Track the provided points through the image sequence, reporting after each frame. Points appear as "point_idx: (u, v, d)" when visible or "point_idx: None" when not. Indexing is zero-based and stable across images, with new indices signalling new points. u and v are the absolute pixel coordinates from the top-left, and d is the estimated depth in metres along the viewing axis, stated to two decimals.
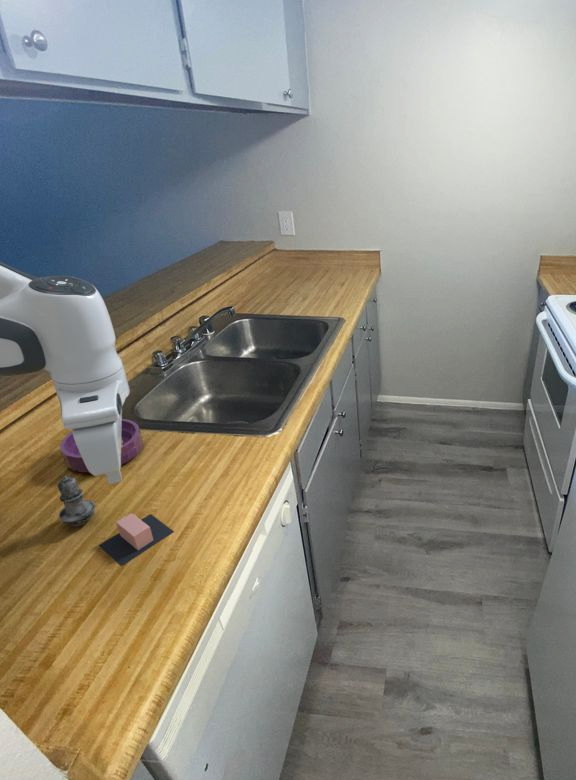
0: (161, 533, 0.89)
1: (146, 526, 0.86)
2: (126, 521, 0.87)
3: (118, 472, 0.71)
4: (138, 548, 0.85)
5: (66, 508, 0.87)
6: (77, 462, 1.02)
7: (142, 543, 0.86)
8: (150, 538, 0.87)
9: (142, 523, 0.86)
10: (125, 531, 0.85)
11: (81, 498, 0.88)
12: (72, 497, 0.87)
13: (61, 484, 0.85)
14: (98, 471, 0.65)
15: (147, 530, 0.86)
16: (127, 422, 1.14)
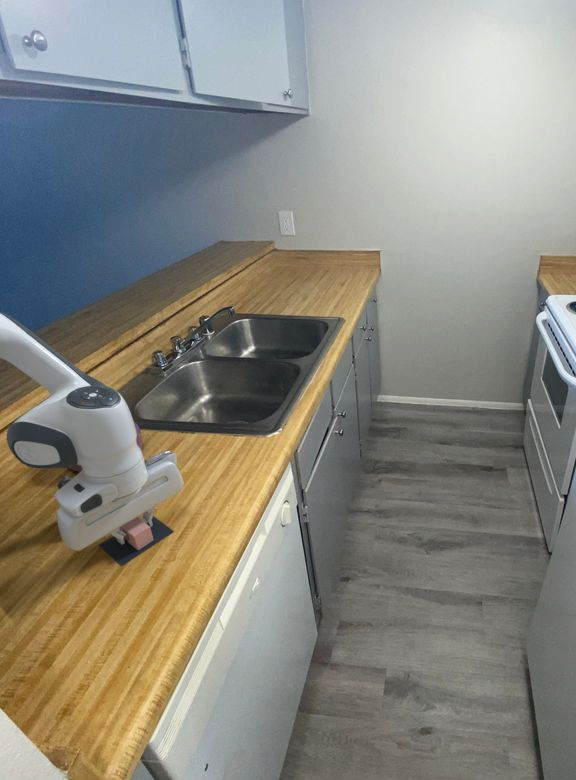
0: (161, 533, 0.89)
1: (146, 526, 0.86)
2: None
3: (118, 538, 0.84)
4: (138, 548, 0.85)
5: None
6: None
7: (142, 543, 0.86)
8: (150, 538, 0.87)
9: (142, 523, 0.86)
10: (125, 531, 0.85)
11: None
12: None
13: (61, 484, 0.85)
14: (64, 542, 0.77)
15: (147, 530, 0.86)
16: None
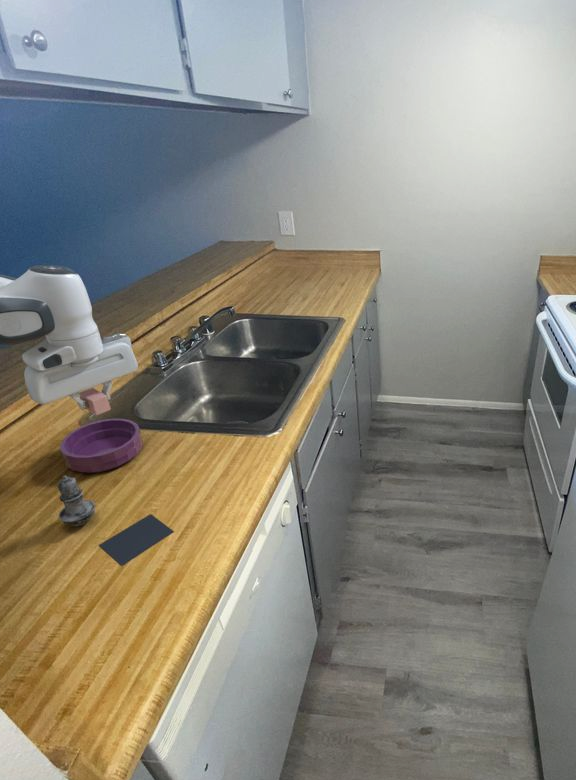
0: (161, 533, 0.89)
1: (103, 395, 1.01)
2: (87, 392, 1.01)
3: (79, 403, 0.99)
4: (97, 413, 1.00)
5: (66, 508, 0.87)
6: (77, 462, 1.02)
7: (100, 409, 1.00)
8: (107, 407, 1.01)
9: (100, 393, 1.01)
10: (85, 399, 1.00)
11: (81, 498, 0.88)
12: (72, 497, 0.87)
13: (61, 484, 0.85)
14: (31, 398, 0.92)
15: (104, 398, 1.00)
16: (127, 422, 1.14)
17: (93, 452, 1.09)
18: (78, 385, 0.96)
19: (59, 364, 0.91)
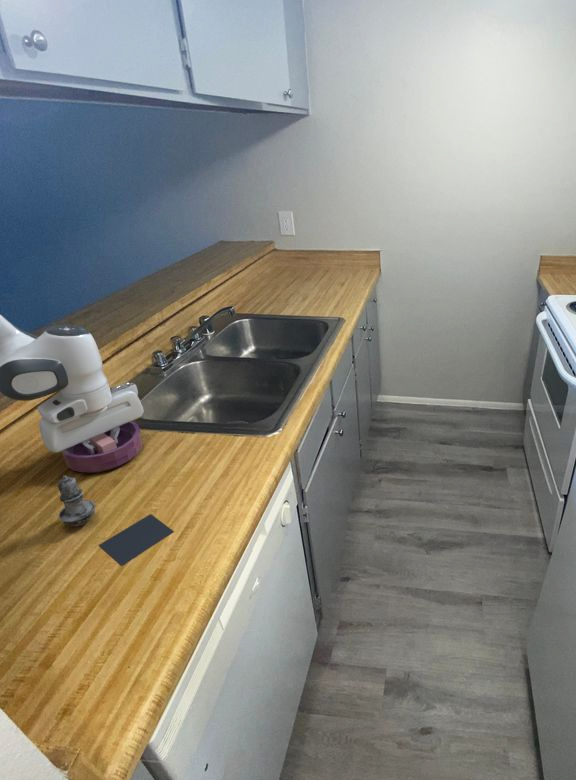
0: (161, 533, 0.89)
1: (112, 440, 1.08)
2: (96, 437, 1.09)
3: (89, 448, 1.06)
4: None
5: (66, 508, 0.87)
6: (77, 462, 1.02)
7: None
8: None
9: (109, 438, 1.08)
10: (95, 443, 1.07)
11: (81, 498, 0.88)
12: (72, 497, 0.87)
13: (61, 484, 0.85)
14: (45, 446, 1.00)
15: (113, 443, 1.08)
16: None
17: None
18: (88, 433, 1.04)
19: (72, 416, 0.98)
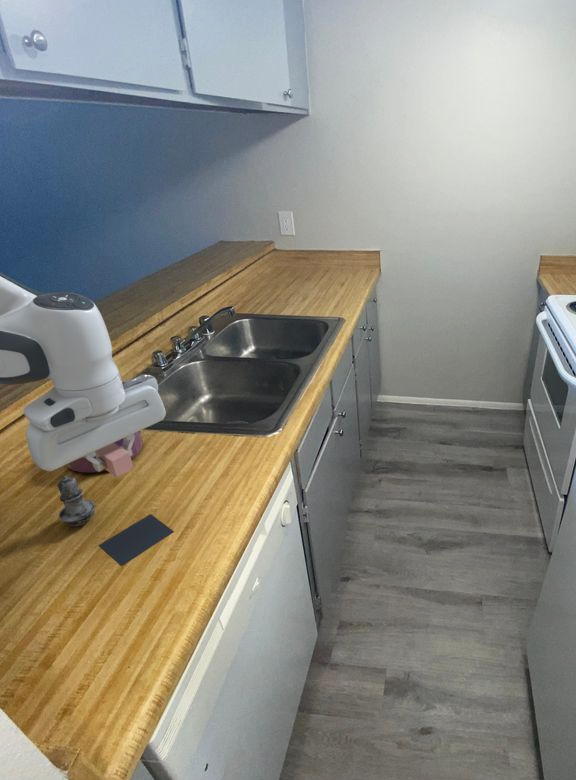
0: (161, 533, 0.89)
1: (125, 452, 0.80)
2: (104, 448, 0.81)
3: (95, 464, 0.79)
4: (117, 475, 0.80)
5: (66, 508, 0.87)
6: (77, 462, 1.02)
7: (121, 470, 0.80)
8: (130, 465, 0.81)
9: (121, 449, 0.81)
10: (103, 457, 0.80)
11: (81, 498, 0.88)
12: (72, 497, 0.87)
13: (61, 484, 0.85)
14: (35, 462, 0.72)
15: (126, 456, 0.80)
16: None
17: None
18: (94, 443, 0.76)
19: (71, 420, 0.71)
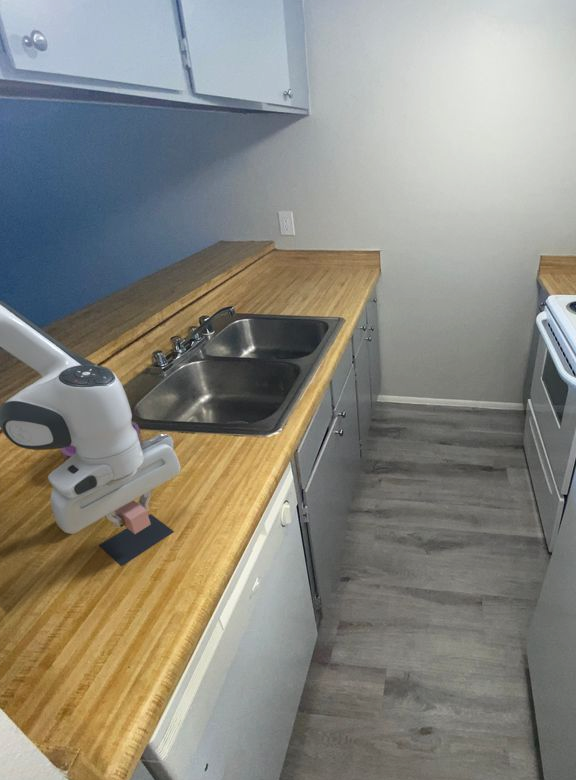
0: (161, 533, 0.89)
1: (142, 509, 0.84)
2: None
3: (114, 522, 0.82)
4: (135, 532, 0.83)
5: None
6: None
7: (139, 527, 0.84)
8: (147, 522, 0.85)
9: (139, 506, 0.85)
10: (121, 514, 0.83)
11: None
12: None
13: None
14: (58, 525, 0.76)
15: (144, 513, 0.84)
16: None
17: None
18: (114, 504, 0.80)
19: (93, 487, 0.74)
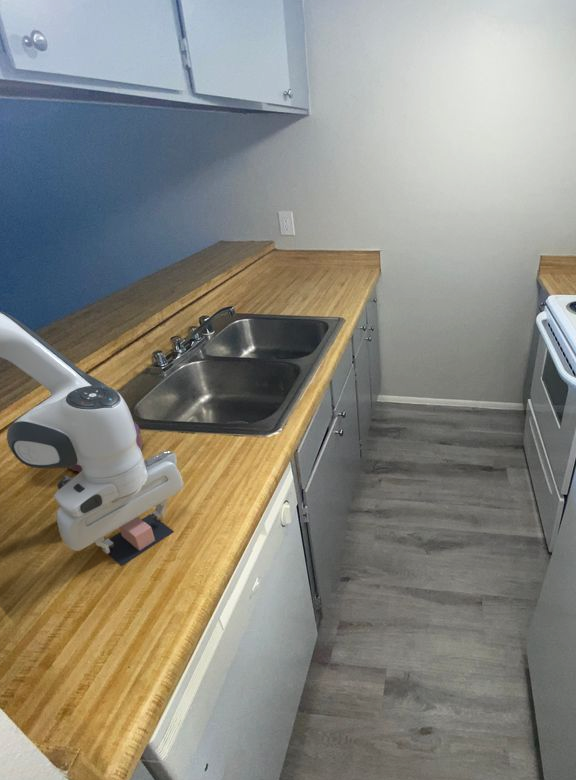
0: (161, 533, 0.89)
1: (147, 526, 0.86)
2: (128, 522, 0.87)
3: (103, 547, 0.82)
4: (140, 548, 0.85)
5: None
6: None
7: (144, 543, 0.85)
8: (152, 538, 0.87)
9: (144, 523, 0.86)
10: (127, 531, 0.85)
11: None
12: None
13: (61, 484, 0.85)
14: (64, 543, 0.77)
15: (149, 530, 0.86)
16: None
17: None
18: (118, 521, 0.82)
19: (99, 505, 0.76)
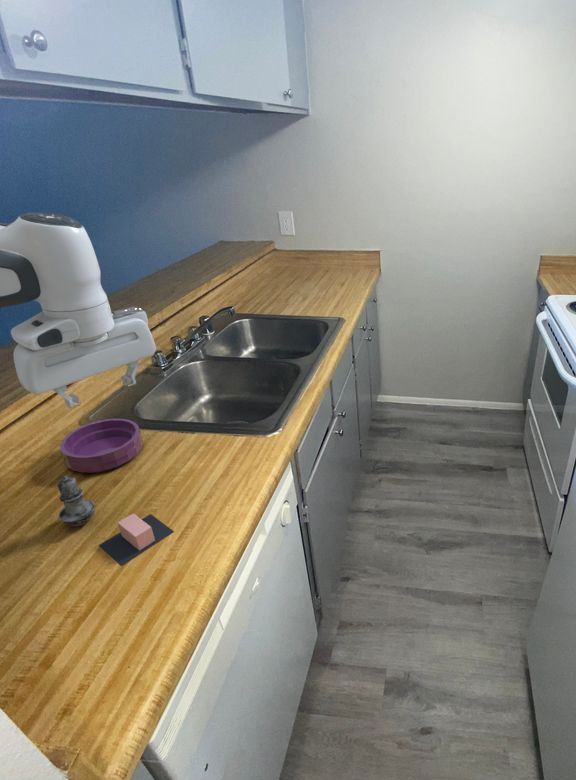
0: (161, 533, 0.89)
1: (147, 526, 0.86)
2: (128, 522, 0.87)
3: (66, 399, 0.76)
4: (140, 548, 0.85)
5: (66, 508, 0.87)
6: (77, 462, 1.02)
7: (144, 543, 0.85)
8: (152, 538, 0.87)
9: (144, 523, 0.86)
10: (127, 531, 0.85)
11: (81, 498, 0.88)
12: (72, 497, 0.87)
13: (61, 484, 0.85)
14: (22, 385, 0.72)
15: (149, 530, 0.86)
16: (127, 422, 1.14)
17: (93, 452, 1.09)
18: (82, 370, 0.76)
19: (58, 342, 0.71)
